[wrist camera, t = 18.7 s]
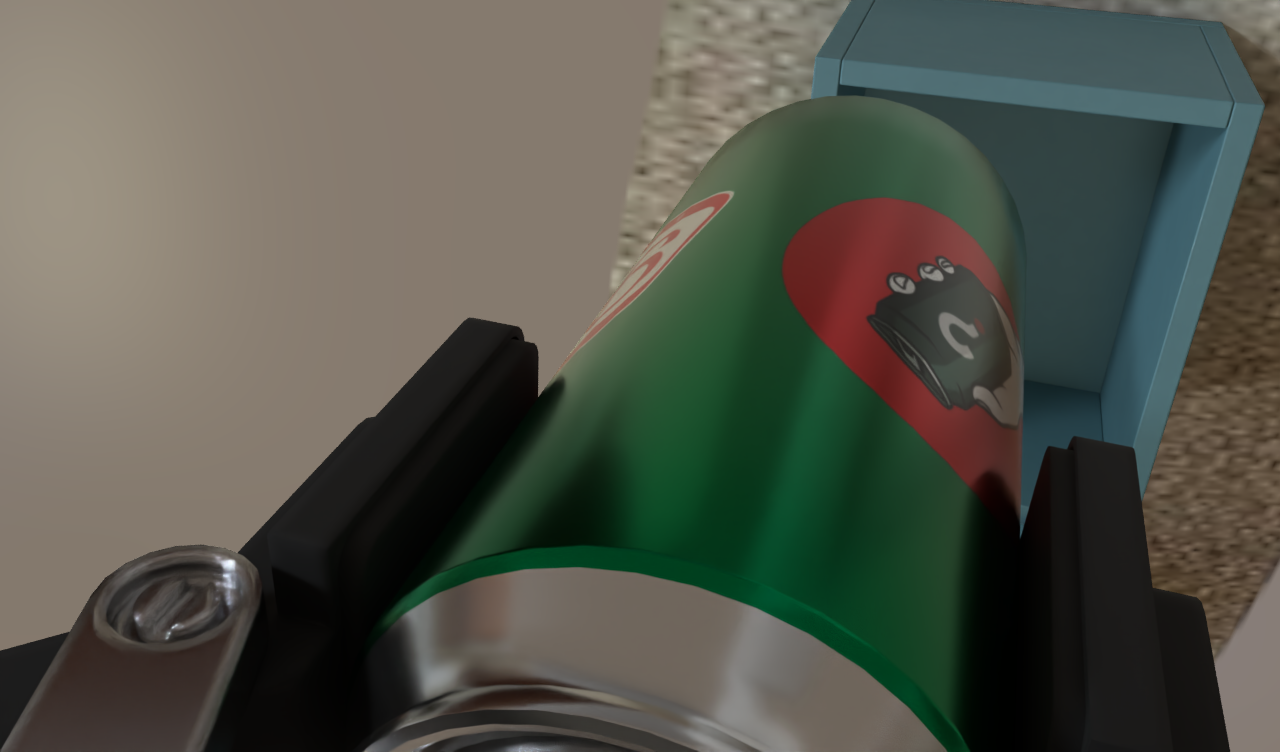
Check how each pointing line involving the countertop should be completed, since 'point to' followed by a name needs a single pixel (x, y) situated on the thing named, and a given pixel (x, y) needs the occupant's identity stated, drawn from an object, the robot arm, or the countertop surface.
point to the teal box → (1080, 183)
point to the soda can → (751, 479)
